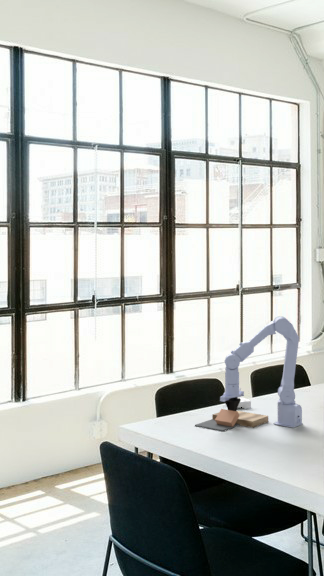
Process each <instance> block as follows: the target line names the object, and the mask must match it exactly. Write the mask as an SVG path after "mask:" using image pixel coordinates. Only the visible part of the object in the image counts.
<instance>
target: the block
mask: <svg viewBox="0 0 324 576" xmlns="http://www.w3.org/2000/svg"><path fill="white" fill-rule="evenodd" d="M237 411H238V410H237ZM237 411H231V410H228V409H226V408H221V409H220V410H219V411H218V412H219V414H218V415H217V417H216V418H215V421H216V423H217V424H220V425H226V426H231V427H233V426H234V424H235V423H236V421H237V419H238V418H239V416H240V415H239V413H238V412H237Z"/></svg>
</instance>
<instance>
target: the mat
mask: <svg viewBox="0 0 324 576" xmlns="http://www.w3.org/2000/svg"><path fill="white" fill-rule="evenodd" d="M240 426H241V425H240V424H236V423H235V424H234V426H233V427H231V426H226V425H220V424H217V423H216V421H215V420H213V419H209V420H206V421H203V422H199V423H197V424H194V427H198V428H201V429H202V428H203V429H207V428H208V429H209V430H213V431H218V430H219V432H225V430H226V431H228V429H229V430H231V429H234V428H236V427H240Z"/></svg>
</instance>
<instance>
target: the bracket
mask: <svg viewBox="0 0 324 576" xmlns="http://www.w3.org/2000/svg"><path fill="white" fill-rule="evenodd" d="M239 391H242V388H241V387H240V386H239ZM238 398H240V399H241V401H240V403H239V405H238V407H237V409H240V408H241V407H242V409H243V408H246V409H251V408H252V401H251V400H250V399H248V398H245V397H244V396H240V397H238Z"/></svg>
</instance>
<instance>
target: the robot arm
mask: <svg viewBox="0 0 324 576" xmlns="http://www.w3.org/2000/svg"><path fill="white" fill-rule="evenodd" d="M276 332H277V333H278V334H280V335H281V336H283V338H284V340H286V344H285V345H286V346H285V355H284V360H283V361H284V362H283V370H282V371H283V372H282V377H281V380H280V386H279V387H278V388H277V395H278V396H279V399H278V400H277V421H275V422H273V425H277V426H282V427H288V428H296V427H298V426H301V425H303V424H304V423H303V410H302V409H303V408H302V405H300V404H298V403H296V393H295V375H296V367H297V360H298V359H297V358H298V357H297V356H298V349H299V340H300V338H299V334H298V333H297V331H296V329H295V327H294V325H293V323H291V322H290V321H289V320H288V319H287V318H286V317H284V316H281V315H279V316H277V317H275V318H274V319H273V320H271V321H270V322H268V323H266V324H265V325H264V326H263V327H262V329H260V330H259V331H258V332H257V333H256V334H255V335H253V337H251V339H250V340H249V341H247V340H244V341H243V342H239V343H238V346H237V347H236V348H235V349H234V350H231V351H230V353H229V354H227V355H226V357H225V358H224V364H225V372H224V375H225V377H224V379H225V380H224V383H225V385H224V387H225V388H224V392H223V394H222V395H221V396H219V402H224V404H225V405H226V408H227V410H231V411H238V408H237V407H238V405H239V403H240V401H241V399H240V398H238V397H240V396H241V397H245V391H242V390H241V391H239V387H240V372H239V366H240V363H243V362H244V361H245V360H246V359H247V358H248V357H249V356H251V355H252V354H253V353H254V351H255V348H256V346H258V345H259V344H260V343H261V342H262V341H264V340H265V339H266V338H267V337H268V336H273V335H276V334H277V333H276Z"/></svg>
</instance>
